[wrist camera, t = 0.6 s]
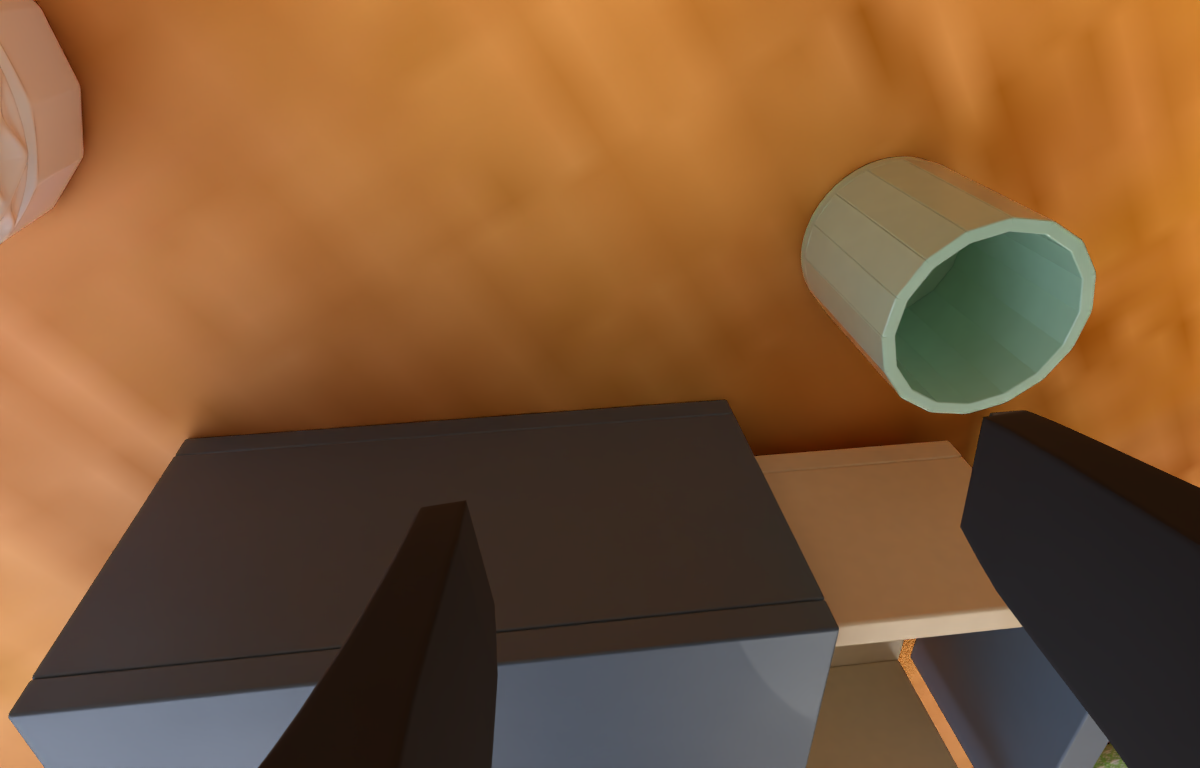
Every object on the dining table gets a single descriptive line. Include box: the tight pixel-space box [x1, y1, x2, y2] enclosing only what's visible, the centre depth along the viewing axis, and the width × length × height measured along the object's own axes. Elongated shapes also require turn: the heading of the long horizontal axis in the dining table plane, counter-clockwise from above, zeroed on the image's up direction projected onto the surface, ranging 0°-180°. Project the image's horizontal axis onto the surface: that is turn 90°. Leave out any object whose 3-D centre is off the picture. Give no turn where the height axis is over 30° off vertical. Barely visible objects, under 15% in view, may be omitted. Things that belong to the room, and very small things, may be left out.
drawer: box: [755, 410, 1109, 768], centre depth 22 cm, size 19×11×7 cm, turn 91°
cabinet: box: [9, 400, 839, 768], centre depth 21 cm, size 16×13×9 cm
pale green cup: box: [801, 156, 1096, 414], centre depth 17 cm, size 5×5×5 cm
